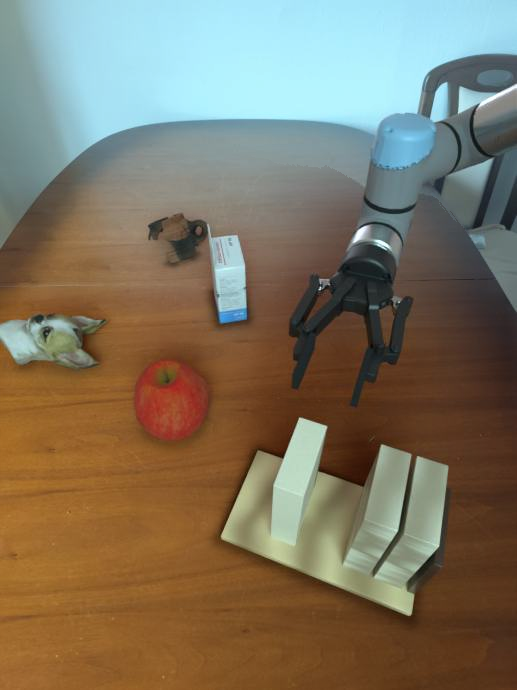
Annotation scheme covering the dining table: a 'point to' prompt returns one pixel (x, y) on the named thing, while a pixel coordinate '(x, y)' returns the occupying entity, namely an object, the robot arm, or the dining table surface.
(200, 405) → the apple
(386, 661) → the dining table surface
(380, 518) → the book rack
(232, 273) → the ink box
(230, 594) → the dining table surface
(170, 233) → the pottery mug
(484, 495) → the dining table surface
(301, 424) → the cream book
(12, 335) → the ceramic sculpture
